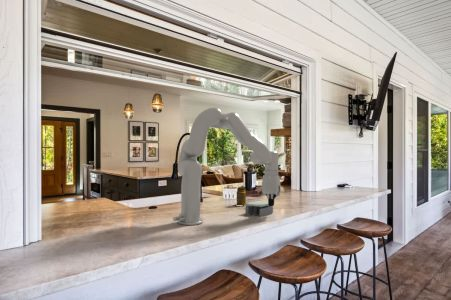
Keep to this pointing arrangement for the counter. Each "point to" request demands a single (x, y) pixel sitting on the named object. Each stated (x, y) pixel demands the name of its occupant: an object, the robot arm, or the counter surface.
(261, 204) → the lid
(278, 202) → the counter surface
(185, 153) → the robot arm
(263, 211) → the grey u-shaped block
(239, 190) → the condiment
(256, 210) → the gray rectangular prism
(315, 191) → the counter surface
